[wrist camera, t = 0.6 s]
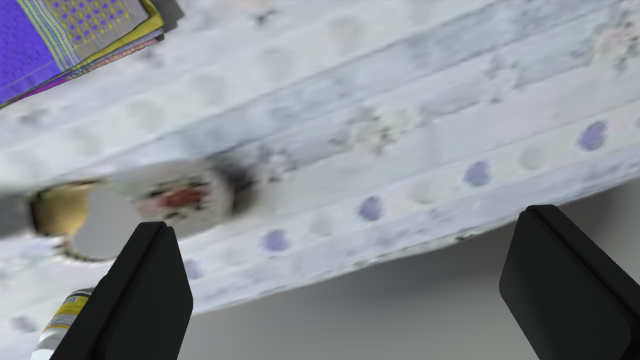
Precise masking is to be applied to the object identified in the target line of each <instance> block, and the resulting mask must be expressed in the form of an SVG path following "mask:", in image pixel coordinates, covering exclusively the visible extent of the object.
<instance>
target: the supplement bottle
mask: <svg viewBox="0 0 640 360" xmlns="http://www.w3.org/2000/svg"><path fill="white" fill-rule="evenodd" d="M91 294H92V293H91V292H86V291H77V292H73V293H71V294H70V295H69V296H68V297H67V298H66V300H65V301H64V303H63V304H62V306H61V307H60V308H59V310H58V311H57V313H56V314H55V315H54V317H53V318H52V320H51V321H50V322H49V324H48V325H47V327H46V328H45V329H44V331H43V332H42V334H41V336H40V343H39V344H38V345H37V346H36V348H35V350H34V351H33V353H32V355H31V359H32V360H49V359H50V357H51V356H52V354H53V353H54V351H55V350H56V348H57V346H58V345H59V343H60V342H61V340H62V339H63V337H64V336H65V334H66V333H67V331H68V329H69V328H70V326H71V325H72V323H73V322H74V320H75V319H76V317H77V315H78V314H79V312H80V311H81V309H82V308H83V306H84V305H85V303H86V302H87V300H88V298H89V297H90V295H91Z"/></svg>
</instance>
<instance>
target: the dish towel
mask: <svg viewBox="0 0 640 360" xmlns="http://www.w3.org/2000/svg"><path fill="white" fill-rule="evenodd" d="M164 24H165V23H164V20H163V18H162V16H161V15H160V13H159V12H158V10H157V9H156V8H155V6H154V5H153V4H152V3H151V1H150V0H0V108H2V107H4V106H6V105H8V104H11V103H13V102H15V101H18V100H21V99H23V98H26V97H29V96H31V95H34V94H37V93H39V92H42V91H45V90H47V89H50V88H53V87H55V86H57V85H60V84H62V83H64V82H67V81H69V80H72V79H75V78H77V77H80V76H82V75H84V74H86V73H88V72H90V71H92V70H94V69H96V68H98V67H101V66H103V65H105V64H108V63H111V62H114V61H115V60H118V59H120V58H122V57H124V56H126V55H129V54H132V53H133V52H135V51H139V50H141V49H142V48H143V47H145V46H147V45H152V44H155V43H157V42H158V41H159V40H158V37H157V36H159V35H160V34H163V33H164V30H163V28H162V26H163V25H164Z"/></svg>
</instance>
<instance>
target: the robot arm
mask: <svg viewBox="0 0 640 360" xmlns="http://www.w3.org/2000/svg"><path fill="white" fill-rule="evenodd" d="M499 290H500V294H501V296H502V298H503V300H504V301H505V303H506V305H507V306H508V308H509V309H510V311H511V313H512V314H513V316H514V318H515V319H516V321H517V323H518V324H519V326H520V328H521V329H522V331H523V333H524V334H525V336H526V338H527V339H528V341H529V343H530V344H531V346H532V348H533V349H534V351H535V353H536V354H537V356H538V358H539V359H540V360H640V285H638V284H637V283H636V282H635V281H634V280H633V279H632V278H631V277H630V276H629V275H628V274H627V273H626V272H625V271H624V270H623V269H622V268H621V267H619V266H618V265H617V264H616V263H615V262H614V261H613V260H612V259H611V258H610V257H609V256H608V255H607V254H606V253H605V252H603V251H602V250H601V249H600V248H599V247H598V246H597V245H596V244H595V243H594V242H593V241H592V240H591V239H590V238H589V237H588V236H587V235H586V234H585V233H584V232H582V231H581V230H580V229H579V228H578V227H577V226H576V225H575V224H574V223H573V222H572V221H571V220H570V219H569V218H568V217H566V215H565V214H563V213H562V212H561V211H560V210H559V209H558V208H557V207H556V206H554V205H551V204H550V205H531V206H528V207H527V208H526V210H525V211H522V212H521V213H520V215H519V218H518V222H517V225H516V228H515V232H514V235H513V239H512V242H511V245H510V248H509V252H508V255H507V259H506V262H505V265H504V268H503V272H502V275H501V278H500V282H499ZM192 310H193V296H192V293H191V289H190V286H189V282H188V279H187V275H186V271H185V268H184V264H183V261H182V257H181V253H180V250H179V246H178V243H177V239H176V236H175V232H174V229H173V228H172V227H171V226H170V227H167V225H166V223H165V222H163V221H159V222H142V223H140V224H139V225H138V226H137V228H136V229H135V231H134V232H133V234H132V235H131V237H130V239H129V240H128V242H127V243H126V245H125V246H124V248H123V249H122V251H121V253H120V254H119V256H118V257H117V259H116V260H115V262H114V264H113V265H112V267H111V268H110V270H109V271H108V273H107V275H105V276H104V277H103V278H102V279H101V280H100V281H99V283H98V285H97V286H96V288H95V289H94V291H93V292H92V294H91V295H90V297H89V298H88V300H87V302H86V303H85V305H84V306H83V308H82V309H81V311H80V312H79V314H78V315H77V317H76V319H75V320H74V322H73V323H72V325H71V326H70V328H69V329H68V331H67V333H66V334H65V336H64V337H63V339H62V340H61V342H60V343H59V345H58V346H57V348H56V350H55V351H54V353H53V354H52V356H51V357H50V359H49V360H177V357H178V354H179V350H180V347H181V344H182V341H183V338H184V335H185V332H186V329H187V326H188V323H189V320H190V316H191V313H192Z"/></svg>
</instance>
